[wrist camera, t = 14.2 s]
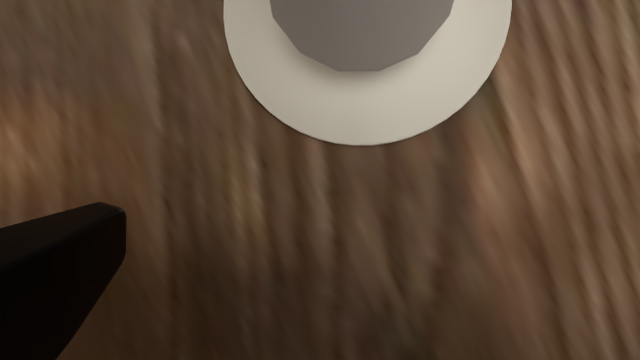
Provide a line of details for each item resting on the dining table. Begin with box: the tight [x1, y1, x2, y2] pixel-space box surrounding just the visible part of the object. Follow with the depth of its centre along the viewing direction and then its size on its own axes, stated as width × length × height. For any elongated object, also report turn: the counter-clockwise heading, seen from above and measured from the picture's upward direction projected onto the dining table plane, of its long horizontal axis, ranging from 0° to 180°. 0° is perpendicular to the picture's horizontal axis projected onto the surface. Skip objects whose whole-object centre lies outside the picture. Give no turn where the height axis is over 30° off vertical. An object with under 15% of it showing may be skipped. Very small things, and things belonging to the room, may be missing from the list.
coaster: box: [224, 0, 512, 146], centre depth 18 cm, size 10×10×1 cm
